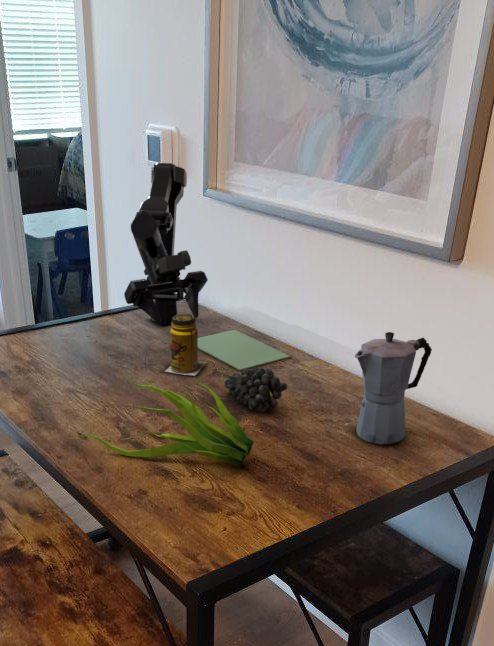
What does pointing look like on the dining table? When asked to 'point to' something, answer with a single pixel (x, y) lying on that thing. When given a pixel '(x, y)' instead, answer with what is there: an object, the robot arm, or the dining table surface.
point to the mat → (239, 349)
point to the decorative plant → (196, 432)
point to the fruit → (256, 388)
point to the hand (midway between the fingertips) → (179, 320)
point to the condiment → (184, 346)
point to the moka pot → (387, 386)
